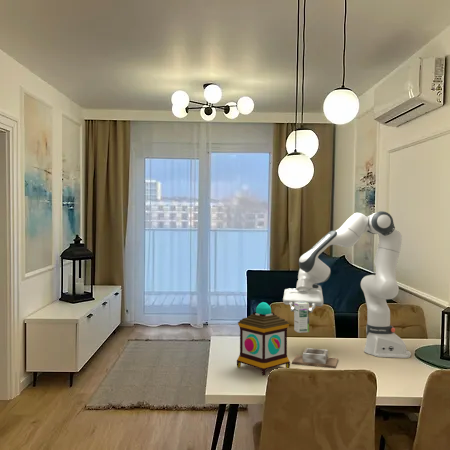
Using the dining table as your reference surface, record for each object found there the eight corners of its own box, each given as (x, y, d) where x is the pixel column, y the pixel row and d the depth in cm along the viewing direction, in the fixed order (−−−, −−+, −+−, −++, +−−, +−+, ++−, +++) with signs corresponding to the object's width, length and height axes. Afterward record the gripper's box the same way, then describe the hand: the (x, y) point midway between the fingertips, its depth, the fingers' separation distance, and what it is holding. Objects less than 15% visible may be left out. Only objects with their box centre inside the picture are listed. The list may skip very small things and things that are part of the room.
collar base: (338, 360, 230) (338, 350, 230) (335, 368, 218) (335, 357, 218) (296, 356, 236) (296, 346, 236) (291, 363, 224) (291, 353, 224)
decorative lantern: (262, 359, 231) (263, 297, 231) (294, 369, 216) (294, 302, 216) (232, 367, 218) (232, 301, 218) (263, 378, 203) (264, 307, 203)
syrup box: (298, 333, 236) (298, 303, 235) (293, 330, 241) (294, 301, 241) (309, 332, 237) (309, 303, 237) (304, 329, 243) (304, 301, 243)
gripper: (283, 284, 249) (279, 306, 240) (323, 286, 242) (321, 308, 233) (285, 291, 253) (281, 313, 244) (325, 293, 247) (322, 316, 237)
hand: (301, 311), depth 238 cm, fingers closed on syrup box, 8 cm apart
